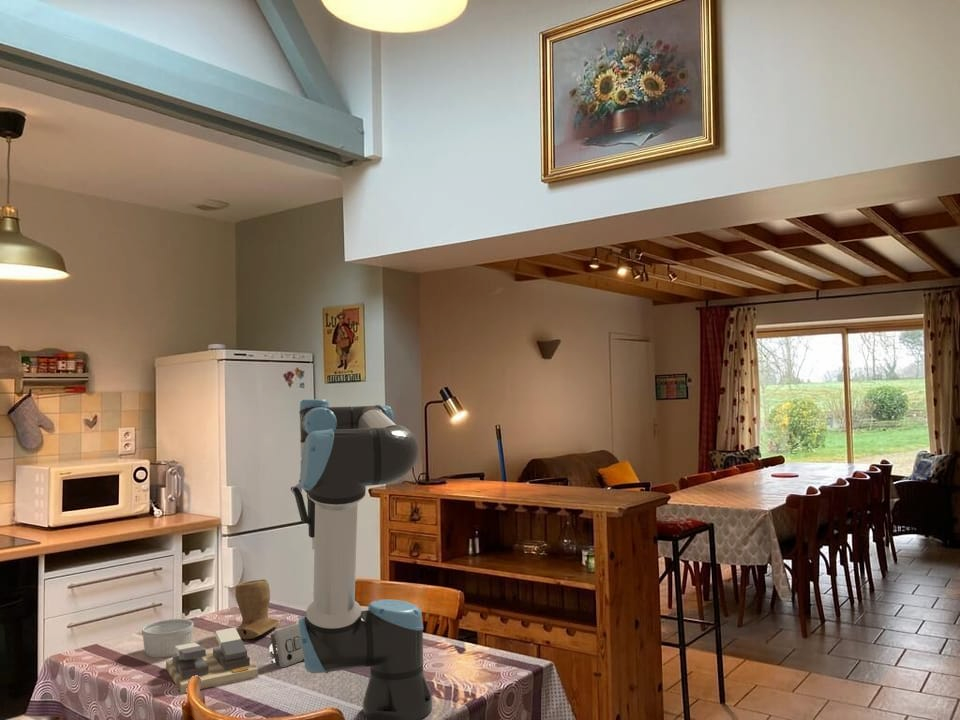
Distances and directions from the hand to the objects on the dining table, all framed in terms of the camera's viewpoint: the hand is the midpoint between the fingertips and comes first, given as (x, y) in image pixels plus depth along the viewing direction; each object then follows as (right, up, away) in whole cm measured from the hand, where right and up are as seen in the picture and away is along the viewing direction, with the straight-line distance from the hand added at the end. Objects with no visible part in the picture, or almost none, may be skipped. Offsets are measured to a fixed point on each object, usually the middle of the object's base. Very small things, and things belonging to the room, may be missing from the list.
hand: (316, 549), depth 202 cm
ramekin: (-43, -31, +12) cm, 55 cm away
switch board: (-26, -30, -5) cm, 40 cm away
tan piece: (-24, -31, +26) cm, 47 cm away
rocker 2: (-22, -24, -3) cm, 33 cm away
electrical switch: (-7, -30, +1) cm, 31 cm away
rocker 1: (-30, -24, -8) cm, 39 cm away
